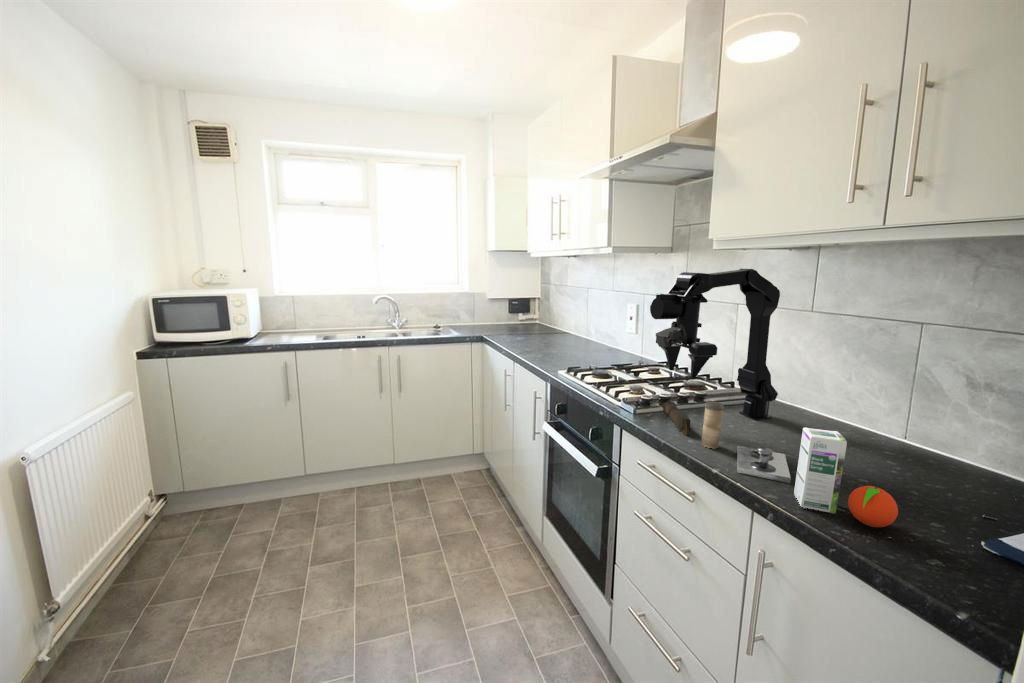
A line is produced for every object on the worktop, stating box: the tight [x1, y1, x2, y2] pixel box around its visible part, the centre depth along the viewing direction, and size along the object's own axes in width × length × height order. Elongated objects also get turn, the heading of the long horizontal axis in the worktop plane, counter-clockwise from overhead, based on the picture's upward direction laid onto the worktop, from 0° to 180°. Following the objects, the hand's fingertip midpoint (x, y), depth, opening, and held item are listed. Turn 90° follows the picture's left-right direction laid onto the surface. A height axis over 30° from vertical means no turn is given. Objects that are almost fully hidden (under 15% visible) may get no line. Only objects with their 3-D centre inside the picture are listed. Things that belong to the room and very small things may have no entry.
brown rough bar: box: [662, 401, 691, 437], centre depth 127 cm, size 19×4×5 cm, turn 173°
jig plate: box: [736, 445, 791, 484], centre depth 101 cm, size 14×10×5 cm
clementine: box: [847, 485, 899, 528], centre depth 79 cm, size 8×7×7 cm
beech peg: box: [700, 401, 725, 450], centre depth 111 cm, size 4×4×11 cm
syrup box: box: [793, 427, 848, 515], centre depth 85 cm, size 6×6×14 cm
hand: (681, 374), depth 124 cm, fingers open, 9 cm apart
